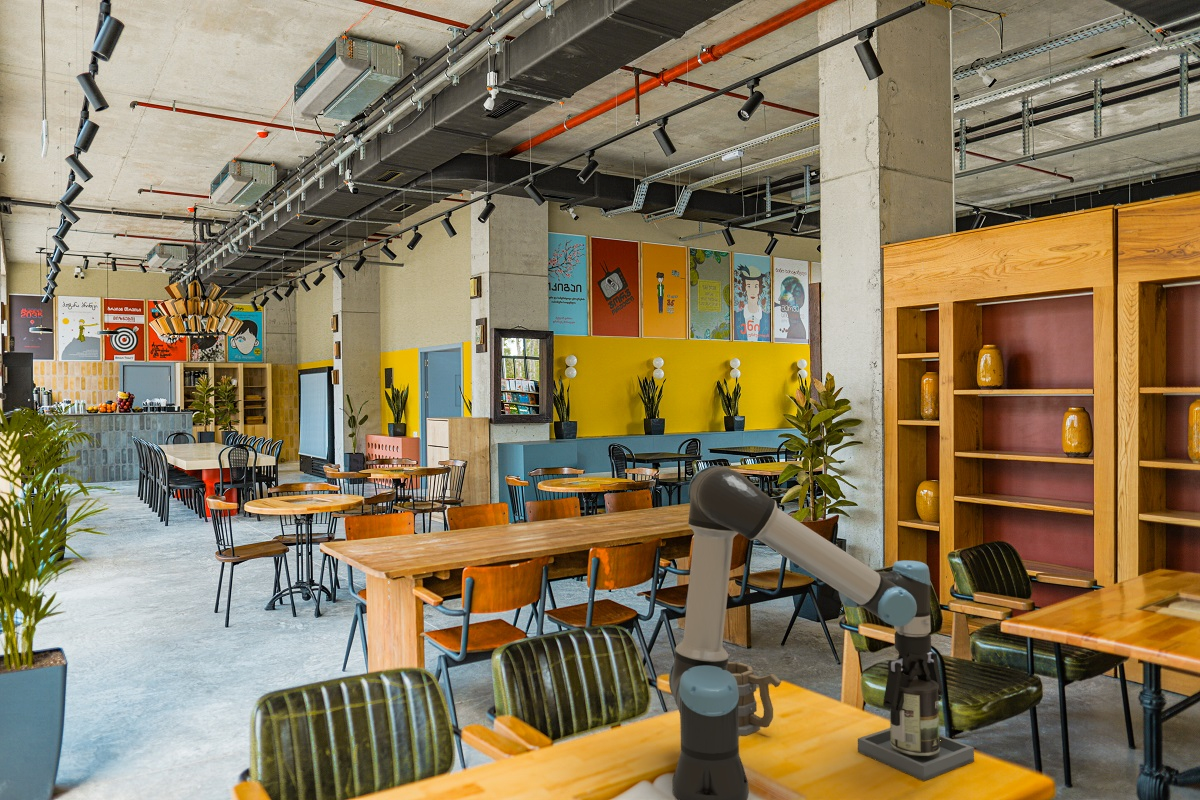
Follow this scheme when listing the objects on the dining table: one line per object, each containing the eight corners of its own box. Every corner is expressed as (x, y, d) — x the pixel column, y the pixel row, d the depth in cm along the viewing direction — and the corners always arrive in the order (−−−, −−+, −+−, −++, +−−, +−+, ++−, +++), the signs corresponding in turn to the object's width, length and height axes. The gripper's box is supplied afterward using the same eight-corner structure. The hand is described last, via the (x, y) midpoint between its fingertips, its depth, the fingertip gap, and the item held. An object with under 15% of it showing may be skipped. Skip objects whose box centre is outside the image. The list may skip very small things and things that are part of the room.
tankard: (695, 725, 195) (694, 663, 196) (728, 712, 204) (727, 652, 204) (762, 750, 180) (761, 683, 181) (794, 734, 189) (793, 670, 189)
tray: (924, 781, 164) (923, 766, 164) (857, 751, 179) (857, 738, 179) (974, 761, 173) (973, 747, 173) (907, 735, 188) (907, 722, 188)
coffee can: (934, 738, 180) (933, 675, 180) (944, 758, 170) (943, 691, 170) (886, 735, 182) (885, 673, 182) (893, 754, 172) (892, 688, 172)
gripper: (893, 644, 167) (894, 751, 167) (959, 628, 179) (961, 728, 179) (864, 636, 174) (865, 739, 173) (930, 621, 186) (931, 717, 185)
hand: (914, 734), depth 176 cm, fingers closed on coffee can, 10 cm apart
